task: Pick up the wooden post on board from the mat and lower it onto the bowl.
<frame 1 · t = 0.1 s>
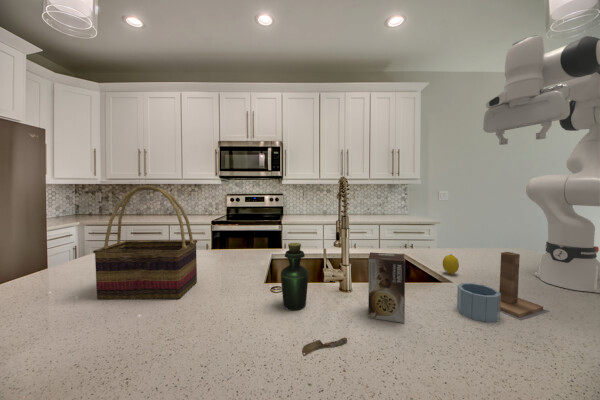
hand: (520, 142, 75), 48 cm above the countertop, tool pointing down, fingers open, 8 cm apart
meat cleaver: (322, 349, 54), on the countertop
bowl: (477, 314, 67), on the countertop
mat: (507, 306, 72), on the countertop
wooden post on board: (507, 304, 72), resting on mat
coffee box: (385, 315, 68), on the countertop
potion bottle: (294, 305, 73), on the countertop
lemon: (450, 274, 99), on the countertop
basket: (150, 291, 83), on the countertop
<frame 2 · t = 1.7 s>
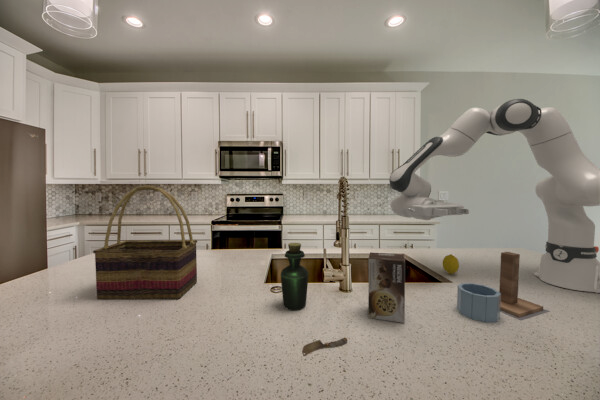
hand: (458, 212, 86), 26 cm above the countertop, tool horizontal, fingers open, 8 cm apart
nothing on the countertop moved.
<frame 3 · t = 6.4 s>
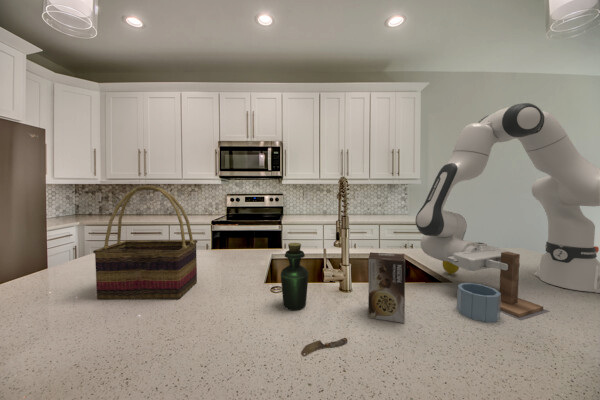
hand: (513, 266, 71), 12 cm above the countertop, tool horizontal, fingers closed on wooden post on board, 3 cm apart
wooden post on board: (507, 304, 72), resting on mat, touching gripper
everything else where it was.
when the fingers open (20 cm above the countertop, at t = 10.6 s): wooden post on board drops 1 cm, resting on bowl.
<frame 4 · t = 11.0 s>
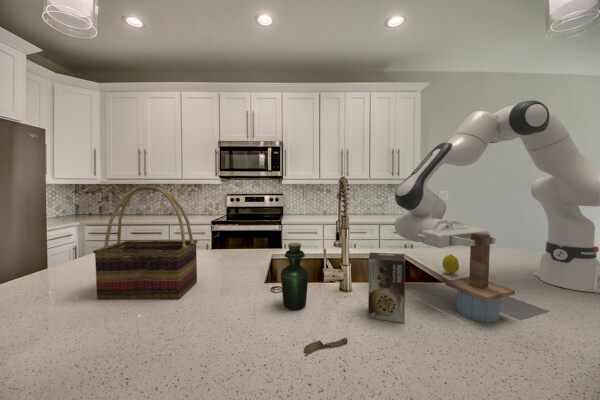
hand: (483, 242, 66), 20 cm above the countertop, tool horizontal, fingers open, 7 cm apart
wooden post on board: (478, 289, 67), point 7 cm above the countertop, touching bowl
everything else where it was.
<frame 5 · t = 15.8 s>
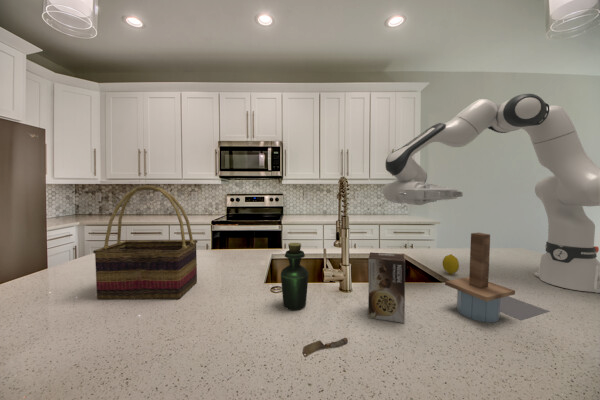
hand: (451, 194, 81), 32 cm above the countertop, tool horizontal, fingers open, 8 cm apart
nothing on the countertop moved.
at the end: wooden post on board 0.0 cm off-centre on the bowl, point 7.0 cm above the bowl's base; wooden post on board tilted 0°; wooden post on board touching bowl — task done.
